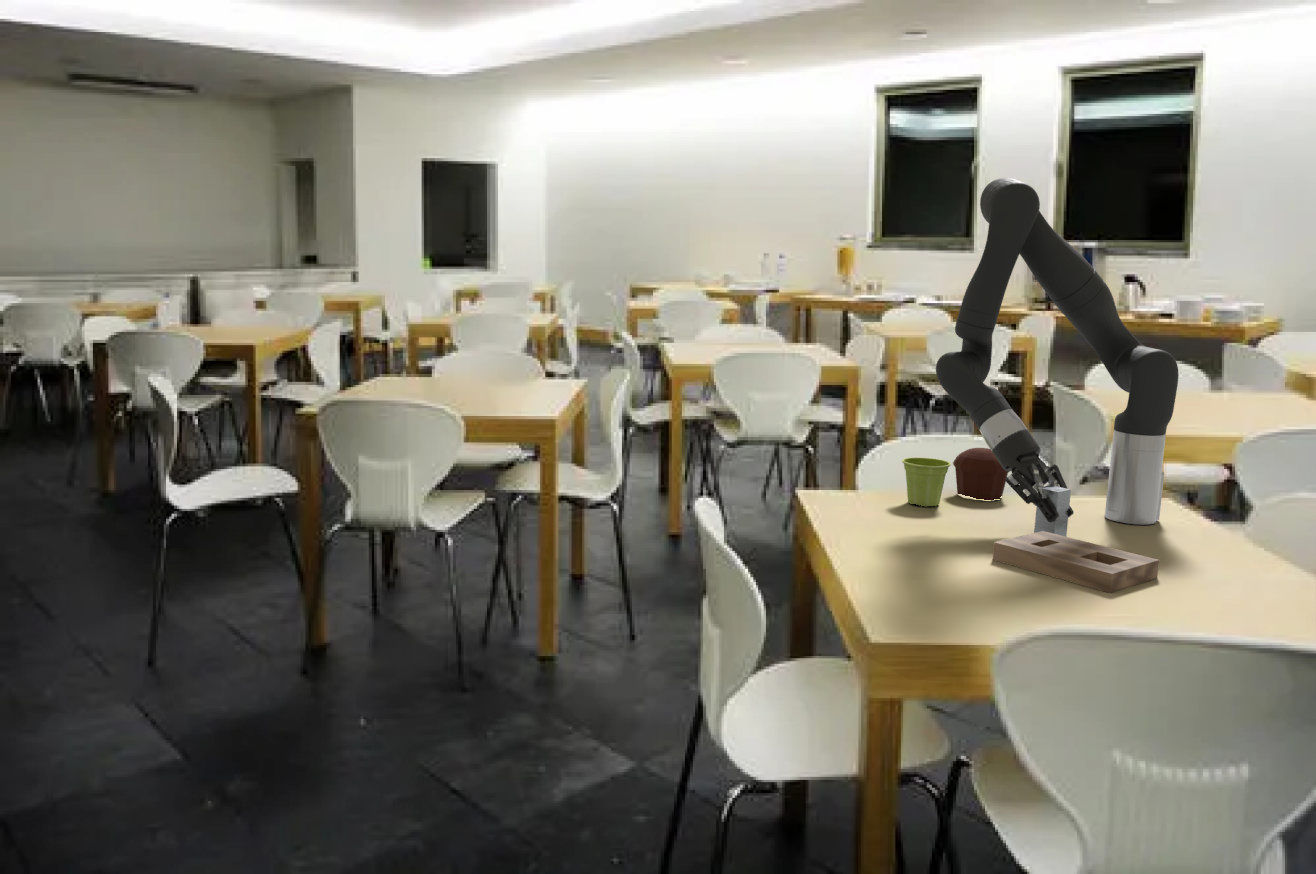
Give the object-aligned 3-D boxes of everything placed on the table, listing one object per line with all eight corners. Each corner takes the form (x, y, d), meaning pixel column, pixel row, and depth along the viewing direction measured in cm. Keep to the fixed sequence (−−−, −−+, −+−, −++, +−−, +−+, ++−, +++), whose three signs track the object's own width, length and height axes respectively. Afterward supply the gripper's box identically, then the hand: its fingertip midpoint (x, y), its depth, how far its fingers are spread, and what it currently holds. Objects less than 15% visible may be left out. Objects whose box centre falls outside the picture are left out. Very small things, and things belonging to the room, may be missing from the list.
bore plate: (1041, 547, 198) (1042, 530, 198) (1157, 578, 182) (1159, 560, 182) (992, 559, 190) (994, 542, 189) (1110, 592, 173) (1112, 573, 173)
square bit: (1046, 533, 208) (1051, 485, 207) (1066, 538, 205) (1071, 489, 203) (1033, 536, 206) (1038, 487, 204) (1053, 541, 203) (1058, 492, 201)
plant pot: (892, 499, 232) (894, 457, 231) (935, 498, 234) (938, 456, 232) (910, 510, 223) (913, 466, 221) (955, 509, 225) (958, 466, 223)
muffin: (1012, 495, 239) (1016, 448, 238) (1004, 505, 229) (1009, 456, 228) (955, 488, 244) (958, 442, 243) (945, 498, 234) (948, 450, 233)
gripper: (999, 431, 203) (1054, 511, 196) (1045, 424, 212) (1099, 501, 205) (972, 455, 208) (1024, 534, 201) (1018, 448, 217) (1069, 524, 210)
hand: (1061, 517), depth 203 cm, fingers closed on square bit, 4 cm apart
